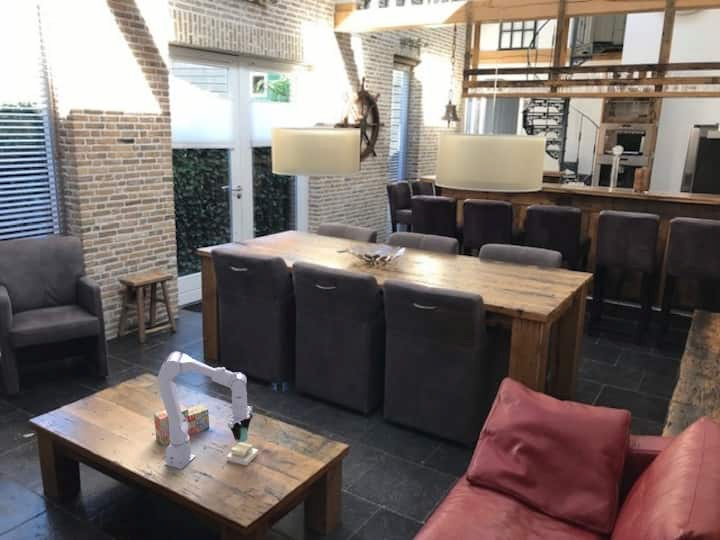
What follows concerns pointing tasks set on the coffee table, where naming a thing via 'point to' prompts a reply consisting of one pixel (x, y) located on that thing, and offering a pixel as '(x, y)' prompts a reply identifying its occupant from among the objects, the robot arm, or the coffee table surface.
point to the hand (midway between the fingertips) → (241, 435)
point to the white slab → (242, 460)
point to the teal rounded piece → (243, 435)
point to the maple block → (242, 450)
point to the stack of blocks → (193, 415)
